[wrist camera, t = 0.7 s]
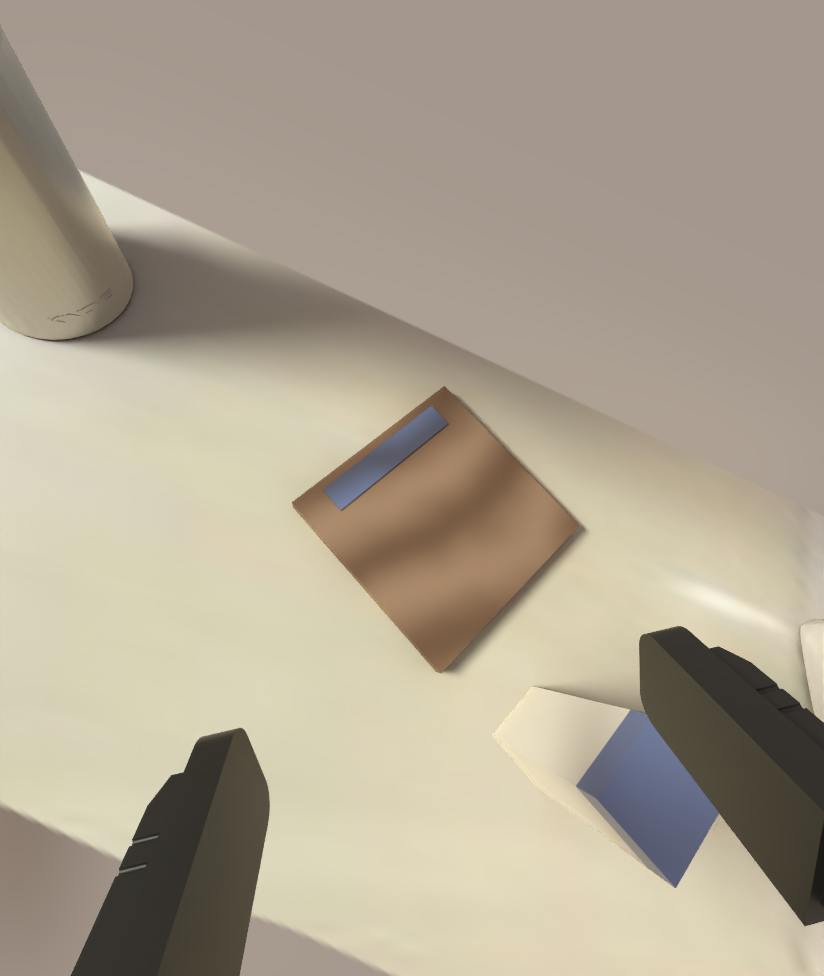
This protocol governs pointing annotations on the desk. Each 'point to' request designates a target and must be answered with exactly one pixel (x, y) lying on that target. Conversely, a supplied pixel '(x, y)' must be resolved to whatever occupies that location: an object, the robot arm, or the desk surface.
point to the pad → (437, 525)
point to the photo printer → (814, 662)
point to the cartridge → (611, 776)
